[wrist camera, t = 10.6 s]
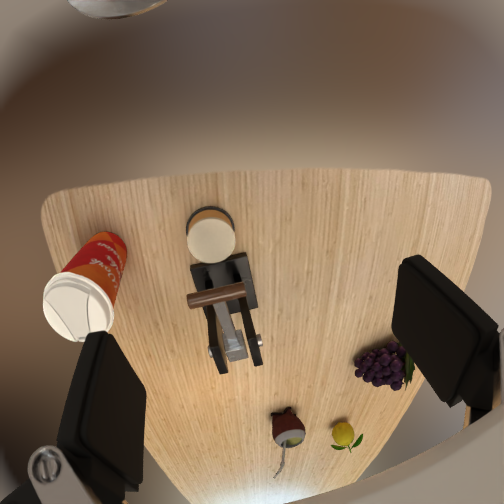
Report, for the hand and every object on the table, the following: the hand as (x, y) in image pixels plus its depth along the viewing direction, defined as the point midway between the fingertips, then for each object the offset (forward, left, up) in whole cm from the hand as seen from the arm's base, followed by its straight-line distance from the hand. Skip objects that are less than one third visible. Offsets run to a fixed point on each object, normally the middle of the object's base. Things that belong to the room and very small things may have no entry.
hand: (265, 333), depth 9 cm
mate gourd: (+55, +2, -32) cm, 64 cm away
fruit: (+43, +24, -32) cm, 59 cm away
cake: (+9, -3, -32) cm, 33 cm away
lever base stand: (+18, -3, -32) cm, 36 cm away
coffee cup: (+8, -17, -32) cm, 37 cm away
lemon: (+67, +15, -32) cm, 76 cm away
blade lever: (+13, -2, -18) cm, 22 cm away
